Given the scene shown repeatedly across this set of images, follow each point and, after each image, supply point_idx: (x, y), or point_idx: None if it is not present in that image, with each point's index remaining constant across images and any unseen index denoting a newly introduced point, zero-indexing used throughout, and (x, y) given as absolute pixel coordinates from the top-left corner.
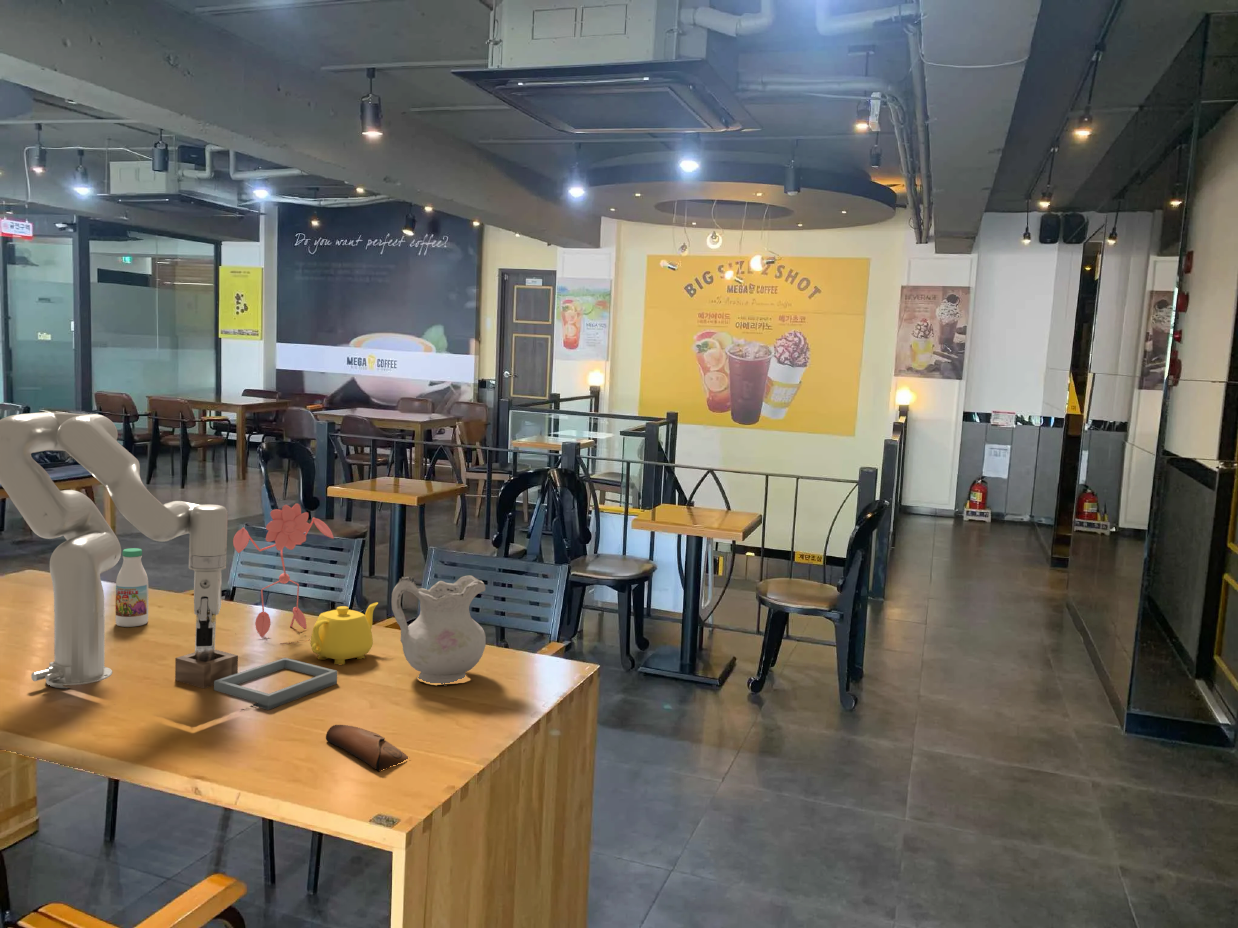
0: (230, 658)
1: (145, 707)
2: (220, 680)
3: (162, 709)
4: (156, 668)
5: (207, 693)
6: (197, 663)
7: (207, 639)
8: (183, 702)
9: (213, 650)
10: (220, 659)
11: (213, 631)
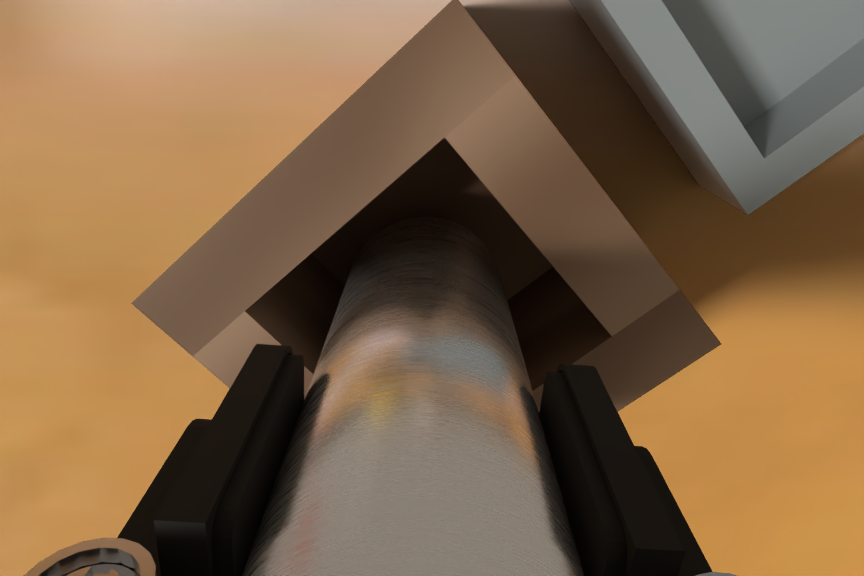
0: (525, 89)
1: (764, 520)
2: (758, 164)
3: (839, 451)
4: (96, 504)
5: (660, 227)
6: (628, 396)
7: (657, 473)
8: (773, 358)
9: (476, 298)
10: (563, 198)
11: (511, 455)
